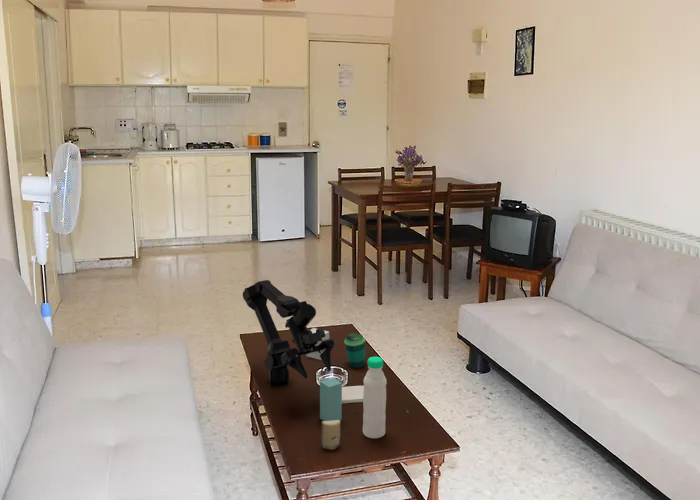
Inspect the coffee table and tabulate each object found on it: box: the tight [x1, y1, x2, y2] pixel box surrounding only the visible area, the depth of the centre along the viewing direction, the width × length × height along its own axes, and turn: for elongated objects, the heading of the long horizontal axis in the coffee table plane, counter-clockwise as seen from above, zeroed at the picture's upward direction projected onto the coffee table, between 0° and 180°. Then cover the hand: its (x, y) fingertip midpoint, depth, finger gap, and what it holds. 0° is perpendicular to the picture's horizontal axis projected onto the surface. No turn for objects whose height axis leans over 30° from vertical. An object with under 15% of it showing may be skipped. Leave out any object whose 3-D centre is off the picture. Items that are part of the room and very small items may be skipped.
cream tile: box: [342, 384, 364, 404], centre depth 224 cm, size 10×10×1 cm
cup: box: [343, 333, 366, 369], centre depth 247 cm, size 8×8×12 cm
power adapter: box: [321, 420, 342, 450], centre depth 191 cm, size 6×5×8 cm
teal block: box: [319, 377, 343, 422], centre depth 206 cm, size 5×5×13 cm
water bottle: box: [362, 356, 387, 440], centre depth 197 cm, size 7×7×25 cm
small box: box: [305, 327, 331, 361], centre depth 256 cm, size 8×6×10 cm
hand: (318, 374), depth 211 cm, fingers open, 9 cm apart
